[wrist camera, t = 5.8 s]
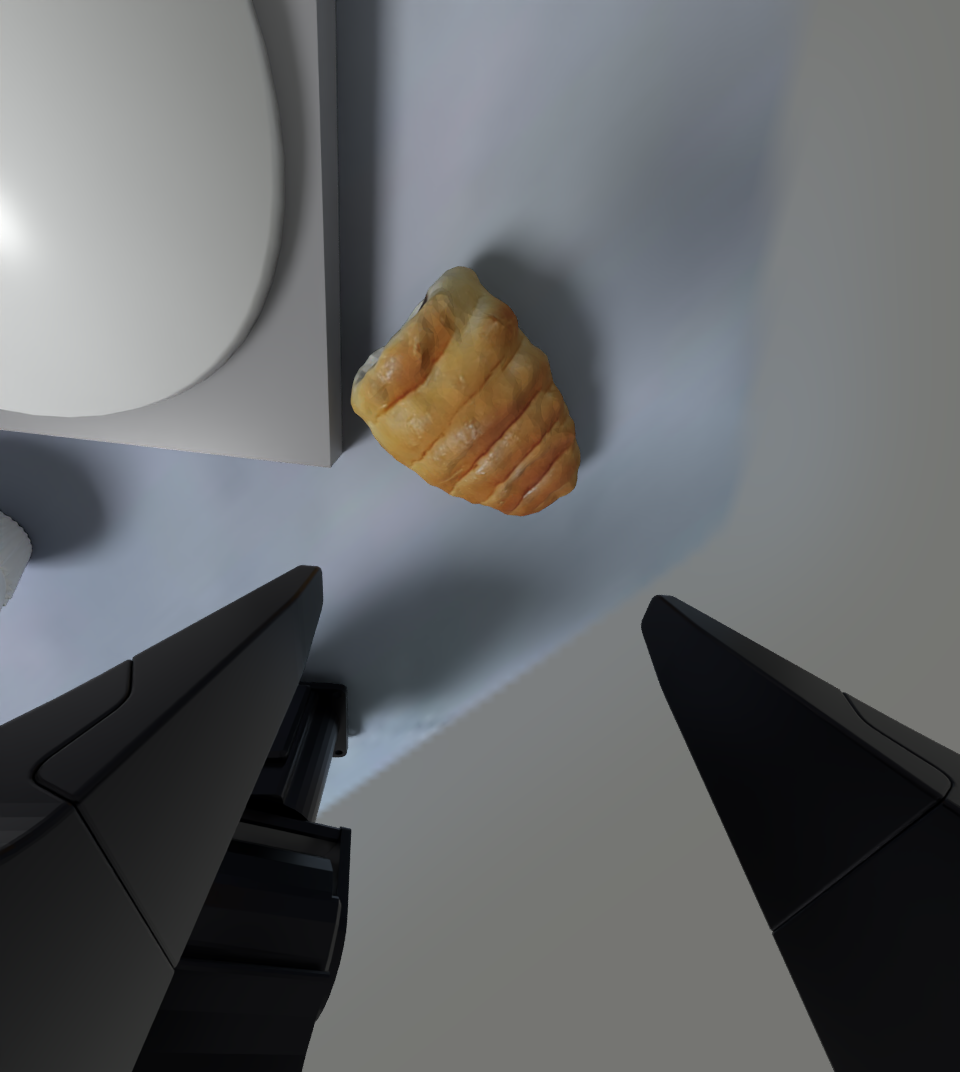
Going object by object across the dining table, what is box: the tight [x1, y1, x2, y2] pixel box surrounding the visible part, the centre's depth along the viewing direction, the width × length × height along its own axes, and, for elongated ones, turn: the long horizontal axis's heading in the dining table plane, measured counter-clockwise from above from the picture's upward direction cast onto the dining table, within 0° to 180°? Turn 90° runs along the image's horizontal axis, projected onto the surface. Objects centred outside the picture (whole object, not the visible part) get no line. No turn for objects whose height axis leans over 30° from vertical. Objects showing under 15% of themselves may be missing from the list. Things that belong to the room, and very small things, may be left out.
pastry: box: [351, 266, 580, 516], centre depth 15 cm, size 9×7×4 cm
